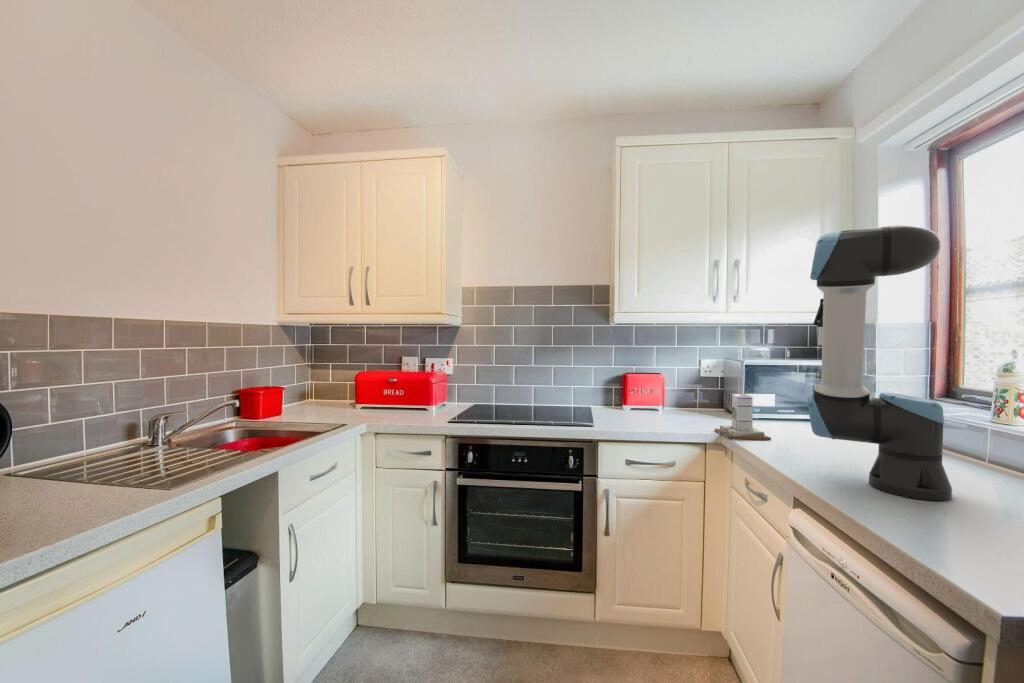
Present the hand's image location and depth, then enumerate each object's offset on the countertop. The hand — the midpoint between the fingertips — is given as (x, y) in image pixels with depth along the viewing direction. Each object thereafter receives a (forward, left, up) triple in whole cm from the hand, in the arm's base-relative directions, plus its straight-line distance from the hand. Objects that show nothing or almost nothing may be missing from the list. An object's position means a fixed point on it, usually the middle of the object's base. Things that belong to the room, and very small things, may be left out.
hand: (836, 345), depth 147 cm
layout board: (-13, +25, -35) cm, 45 cm away
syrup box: (-13, +25, -34) cm, 44 cm away
